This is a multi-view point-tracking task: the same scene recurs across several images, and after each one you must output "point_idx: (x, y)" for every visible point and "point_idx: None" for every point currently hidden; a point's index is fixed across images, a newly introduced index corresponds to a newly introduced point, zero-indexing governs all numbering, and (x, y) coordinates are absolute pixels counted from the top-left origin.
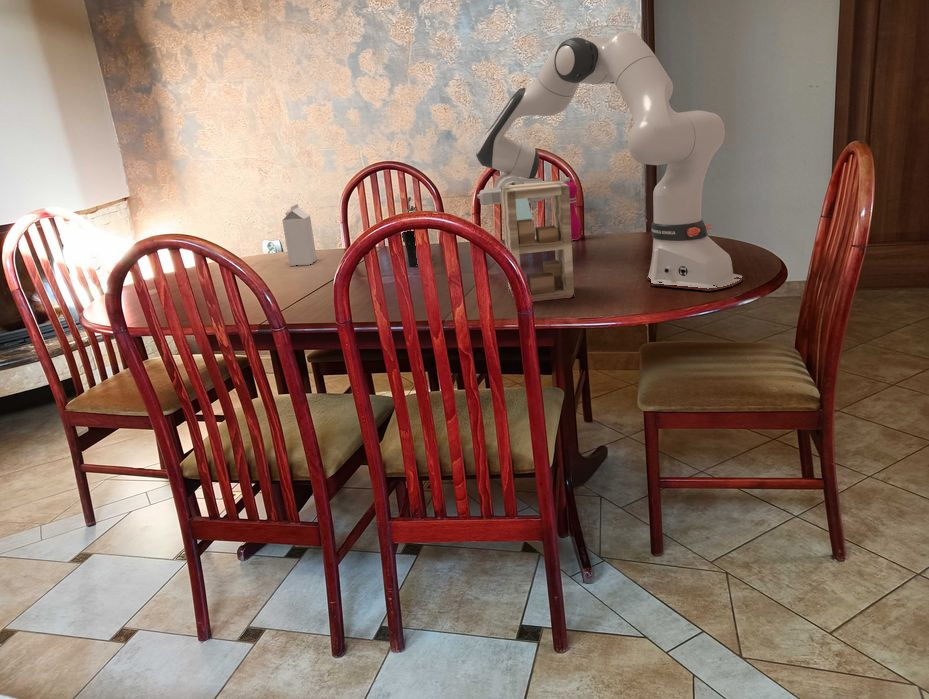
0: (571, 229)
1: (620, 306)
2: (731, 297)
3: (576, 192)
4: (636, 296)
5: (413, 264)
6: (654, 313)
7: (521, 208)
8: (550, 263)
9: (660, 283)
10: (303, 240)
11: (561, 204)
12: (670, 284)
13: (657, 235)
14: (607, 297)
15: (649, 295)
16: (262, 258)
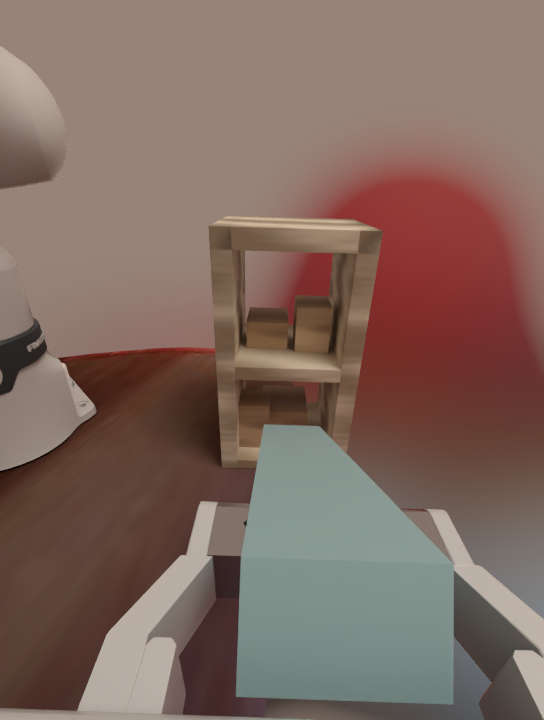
0: None
1: (195, 370)
2: (66, 360)
3: None
4: (151, 389)
5: None
6: (178, 350)
7: (306, 450)
8: (258, 393)
9: (89, 399)
10: None
11: (244, 254)
12: (83, 392)
13: (43, 345)
14: (188, 396)
15: (134, 387)
16: None
